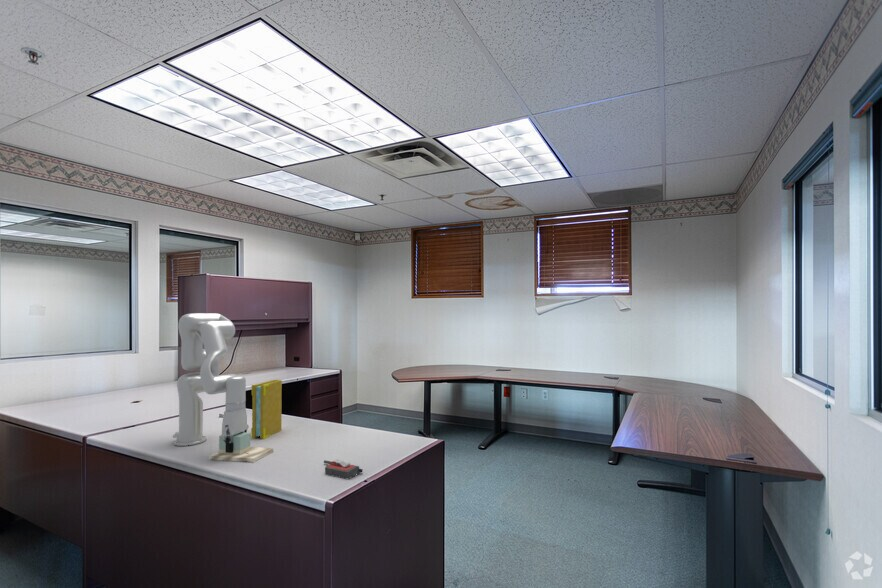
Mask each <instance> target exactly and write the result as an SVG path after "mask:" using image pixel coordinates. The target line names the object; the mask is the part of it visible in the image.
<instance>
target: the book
mask: <svg viewBox="0 0 882 588" xmlns="http://www.w3.org/2000/svg"><path fill="white" fill-rule="evenodd" d="M282 384H283V383H282V379H273V380H268V381H264V382H260V383H255V384H251V396H252V400H251V401H252V405H251V406H252V407H251V408H252V411H251V412H252V416H251V419H252V420H251V421H252V423H251V424H252V425H251V432H250V439H251V438H253V440H255V439H257V438H260V440H266V439H268V438H269V437H270V435H271V436H273V435H276V433H279V432H281V431H282V406H283V405H282V396H283V395H282V392H283V391H282V389H283V388H282V386H283V385H282ZM272 434H273V435H272ZM259 436H260V437H259Z"/></svg>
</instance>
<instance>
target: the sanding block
mask: <svg viewBox="0 0 882 588" xmlns="http://www.w3.org/2000/svg"><path fill="white" fill-rule="evenodd" d="M221 435H222V434H220V435H219V437H218V452H219V453H224V454H242V453H244V452H246V451H248V450H250V447H251V432H246V433H238V434H236V435H234V436H233V441H232V443H233V453H226V443H225V442H224V440H223V439H222V438H221ZM229 435H230V434H229ZM228 438H229V439H230V436H228Z"/></svg>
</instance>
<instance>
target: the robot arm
mask: <svg viewBox="0 0 882 588" xmlns="http://www.w3.org/2000/svg"><path fill="white" fill-rule="evenodd" d="M177 326H178V327H177V328H178V333H179V336H180V339H181V342H180V343H181V348H180V349H181V353H180V354H181V355H180V357H181V358H180V360H181V361H180V363H181V368H182V369H183V370H185V371H196V370H200V371H198V372H197V371H196V372H191V373H185V374H182V375H181V376H180V377H179V378H177V382H176V388H177V393H178V431H177V432H174V434H173V435H172V438H176V440H175V441H174V445H175V446H176V447H177V446H179V447H189V446H194V445H199V444H201V443H204V442H205V441H207V437H206V436H205V435H203V434H204V433H203V431H204V430H203V427H204V425H203V424H204V422H203V421H204V403H203V400H202V398H201V397H200V396H199V394H201V393H206V394H208V395H217V394H223V393H225V410H224V411H223V415H222V424H221V434H220V435H221V438H222V439H223V440H224V442H225V443H226V453H233V443H232V441H233V436H234V435H236V434H238V433H248V432H247V431H248V429H249V424H248V414H247V407H246V401H247V399H246V397H247V396H246V395H247V394H246V392H247V391H246V390H247V387H246V386H247V385H246V382H247V379H246V377H245V376H244V375H239V374H238V375H237V374H236V373H227V374H220V362H221V361H220V359H221V358H223V357H225V356H227V354H228V352H229V351H228V350H229V349H228V346H227V343H226V340H227V339H228V340H229V339H232V338H234V336H235V335H236V327H235V324H234V323H233V321H231V320H230V319H229V318H227V317H226V316H224V315H223V314H220V313H216V312H214V313H213V312H211V313H209V312H208V313H207V312H193V313H185V314H184V315H182V316H180V317H179V320H178V325H177ZM198 332H199V333H198ZM229 434H230V435H229ZM228 436H230V439H229V438H228ZM188 445H189V446H188Z"/></svg>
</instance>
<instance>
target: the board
mask: <svg viewBox="0 0 882 588" xmlns="http://www.w3.org/2000/svg"><path fill="white" fill-rule="evenodd" d="M273 452H274V447H258V446H250V450H248V451H246V452H244V453H242V454H224V453H219V451H218V452H215V453H213V454H211V455H209V460H210V459H213V460H212V461H223V460H224V461H226V462H240V461H247V462H246V463H255V462H257V461H259V460H260V459H262V457H263V458H265V457H266V456H268V455H270V454H272V453H273Z"/></svg>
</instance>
